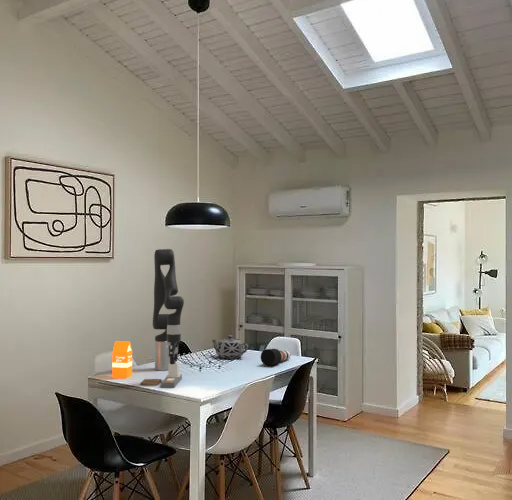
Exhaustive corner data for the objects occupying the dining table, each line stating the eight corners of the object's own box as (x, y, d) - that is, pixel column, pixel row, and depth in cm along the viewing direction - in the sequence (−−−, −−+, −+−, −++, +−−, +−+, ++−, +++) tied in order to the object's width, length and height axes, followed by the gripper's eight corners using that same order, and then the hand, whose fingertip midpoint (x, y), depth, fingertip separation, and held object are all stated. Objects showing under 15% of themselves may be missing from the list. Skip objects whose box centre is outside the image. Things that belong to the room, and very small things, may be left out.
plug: (169, 375, 303) (169, 360, 303) (178, 375, 303) (178, 360, 303) (168, 377, 299) (168, 361, 299) (177, 377, 299) (177, 361, 299)
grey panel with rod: (172, 375, 315) (172, 370, 315) (184, 375, 315) (184, 370, 315) (160, 387, 285) (160, 381, 285) (174, 387, 285) (174, 381, 285)
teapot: (217, 353, 392) (218, 332, 392) (255, 357, 376) (255, 335, 377) (202, 357, 375) (202, 335, 376) (240, 361, 360) (240, 338, 360)
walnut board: (145, 381, 301) (145, 378, 301) (161, 381, 300) (161, 379, 300) (140, 385, 291) (140, 382, 291) (157, 385, 290) (157, 383, 290)
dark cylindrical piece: (292, 365, 371) (299, 352, 370) (270, 368, 342) (277, 354, 341) (280, 357, 376) (287, 344, 375) (257, 359, 347) (265, 346, 345)
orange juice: (117, 375, 316) (117, 340, 316) (132, 375, 315) (132, 340, 315) (111, 378, 308) (112, 342, 309) (126, 378, 307) (127, 342, 307)
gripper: (169, 331, 309) (169, 360, 308) (164, 334, 295) (164, 365, 294) (182, 331, 309) (182, 360, 308) (178, 334, 294) (177, 365, 294)
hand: (173, 362), depth 301 cm, fingers open, 8 cm apart
